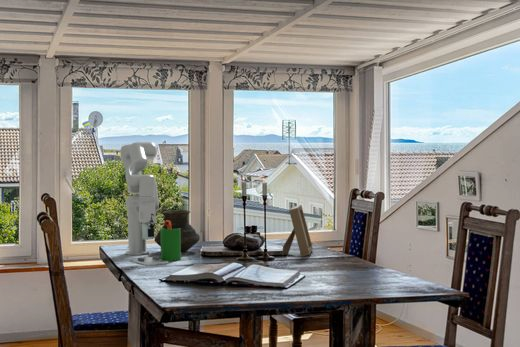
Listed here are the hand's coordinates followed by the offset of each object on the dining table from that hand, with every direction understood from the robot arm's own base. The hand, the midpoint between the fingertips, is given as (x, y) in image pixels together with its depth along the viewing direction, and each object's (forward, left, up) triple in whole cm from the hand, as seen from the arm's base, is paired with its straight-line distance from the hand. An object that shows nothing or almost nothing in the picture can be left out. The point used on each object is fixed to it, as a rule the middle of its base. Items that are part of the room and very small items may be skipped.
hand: (148, 236), depth 338 cm
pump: (0, 0, -2) cm, 2 cm away
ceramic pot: (-21, +29, -13) cm, 38 cm away
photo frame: (+27, +74, -13) cm, 79 cm away
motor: (0, +13, -13) cm, 18 cm away
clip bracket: (0, 0, -13) cm, 13 cm away
